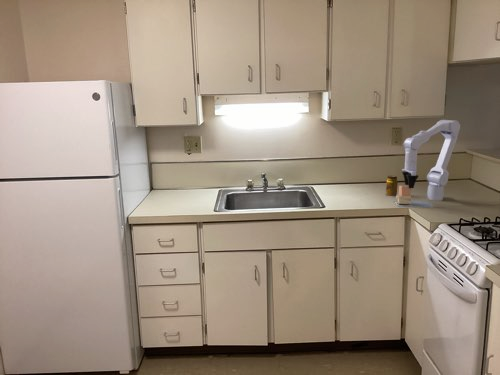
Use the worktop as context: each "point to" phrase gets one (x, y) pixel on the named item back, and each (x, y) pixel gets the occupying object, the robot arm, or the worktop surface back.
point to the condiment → (391, 186)
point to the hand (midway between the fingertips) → (409, 186)
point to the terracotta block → (404, 190)
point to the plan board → (415, 204)
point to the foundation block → (403, 199)
